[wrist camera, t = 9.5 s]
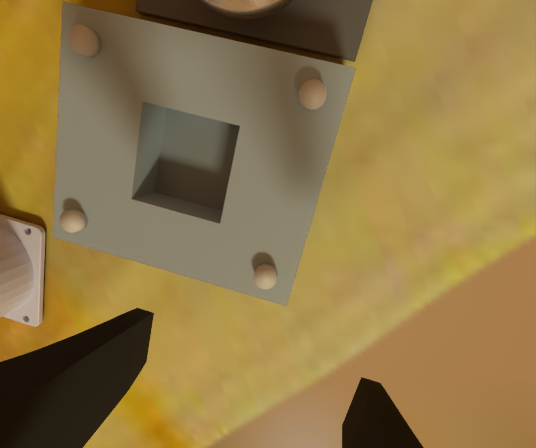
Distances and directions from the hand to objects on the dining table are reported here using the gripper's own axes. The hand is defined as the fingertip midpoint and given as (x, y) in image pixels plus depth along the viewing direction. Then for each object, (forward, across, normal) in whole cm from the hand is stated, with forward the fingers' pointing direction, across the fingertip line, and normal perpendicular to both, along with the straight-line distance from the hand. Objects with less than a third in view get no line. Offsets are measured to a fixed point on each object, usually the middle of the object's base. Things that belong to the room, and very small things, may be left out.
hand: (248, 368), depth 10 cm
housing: (+9, +6, -5) cm, 12 cm away
